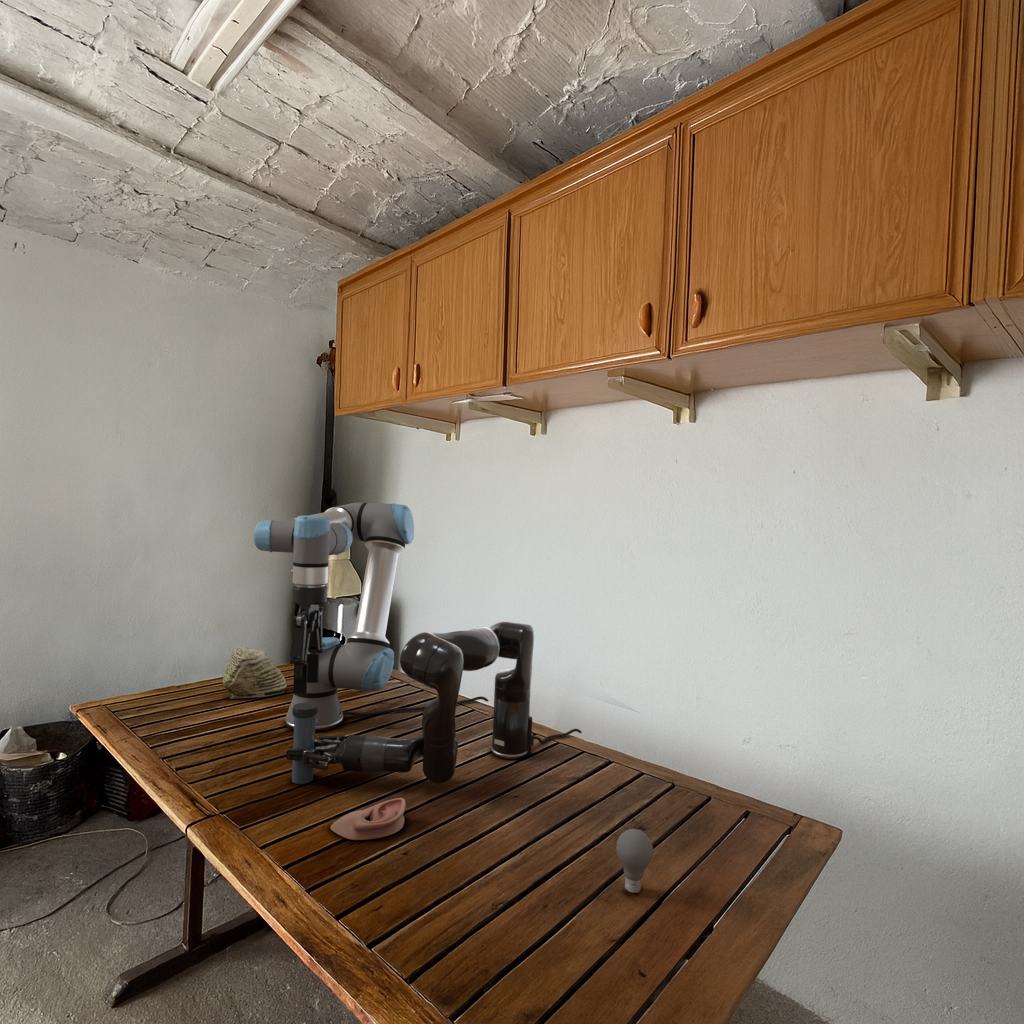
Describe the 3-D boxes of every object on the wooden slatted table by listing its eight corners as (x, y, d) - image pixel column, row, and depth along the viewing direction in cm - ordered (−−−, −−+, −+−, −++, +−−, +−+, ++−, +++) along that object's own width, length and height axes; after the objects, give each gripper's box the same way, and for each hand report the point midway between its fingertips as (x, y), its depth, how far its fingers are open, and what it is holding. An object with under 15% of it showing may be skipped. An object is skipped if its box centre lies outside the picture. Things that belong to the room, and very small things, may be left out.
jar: (312, 783, 140) (315, 710, 140) (290, 784, 139) (293, 711, 138) (313, 774, 144) (316, 704, 144) (292, 775, 143) (295, 704, 143)
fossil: (218, 695, 195) (220, 647, 195) (278, 685, 208) (279, 640, 207) (228, 703, 189) (230, 653, 188) (289, 692, 201) (290, 645, 201)
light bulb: (610, 879, 108) (613, 822, 108) (644, 879, 109) (647, 822, 109) (619, 902, 102) (622, 840, 102) (655, 901, 103) (658, 840, 103)
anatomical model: (323, 814, 118) (350, 787, 130) (322, 835, 118) (350, 806, 130) (389, 824, 116) (412, 796, 127) (389, 846, 116) (411, 816, 127)
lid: (317, 717, 139) (317, 709, 139) (291, 718, 138) (291, 710, 138) (318, 709, 144) (318, 701, 144) (293, 710, 143) (293, 702, 143)
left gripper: (307, 578, 151) (304, 674, 151) (276, 590, 131) (272, 701, 131) (339, 580, 151) (335, 675, 151) (312, 592, 131) (308, 702, 131)
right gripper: (375, 725, 148) (303, 721, 148) (359, 749, 134) (279, 745, 134) (374, 757, 148) (302, 753, 149) (358, 784, 134) (278, 780, 134)
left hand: (306, 687), depth 141 cm, fingers open, 7 cm apart
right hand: (291, 749), depth 141 cm, fingers closed on jar, 4 cm apart
